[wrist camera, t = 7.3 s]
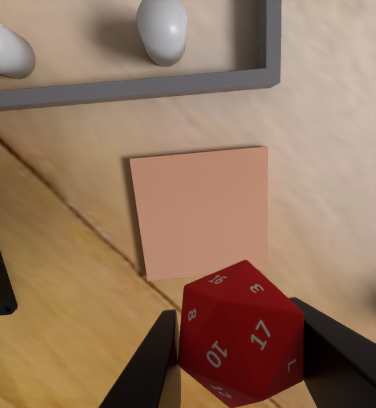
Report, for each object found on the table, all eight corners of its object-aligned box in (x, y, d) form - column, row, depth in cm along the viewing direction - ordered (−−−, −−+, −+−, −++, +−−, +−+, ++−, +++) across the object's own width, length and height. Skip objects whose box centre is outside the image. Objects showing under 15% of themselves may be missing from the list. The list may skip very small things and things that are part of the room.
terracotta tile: (148, 276, 19) (147, 280, 18) (131, 158, 16) (129, 159, 16) (264, 265, 19) (267, 269, 18) (264, 146, 16) (267, 146, 16)
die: (284, 308, 9) (359, 426, 5) (202, 341, 10) (220, 477, 6) (251, 228, 8) (313, 302, 5) (162, 267, 9) (150, 368, 5)
